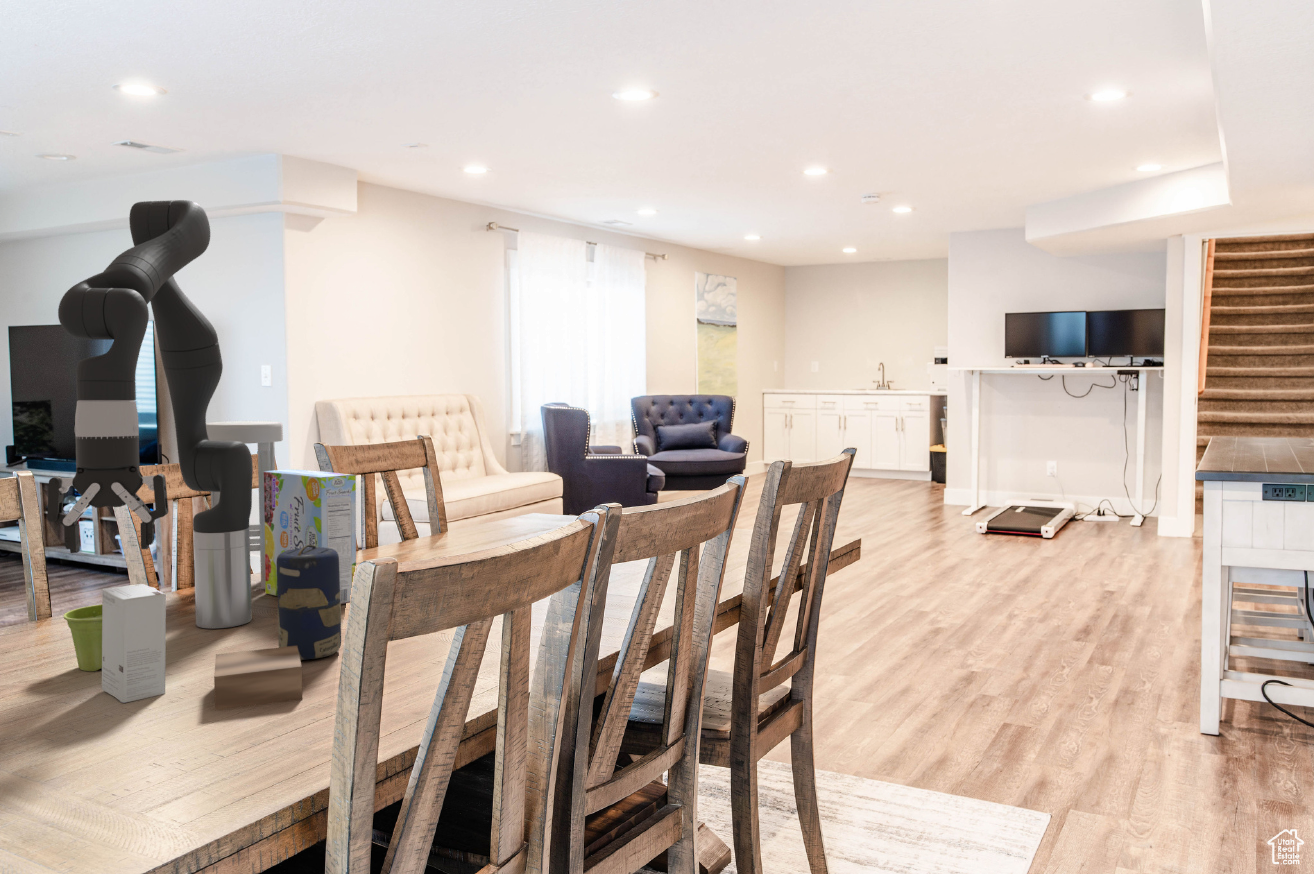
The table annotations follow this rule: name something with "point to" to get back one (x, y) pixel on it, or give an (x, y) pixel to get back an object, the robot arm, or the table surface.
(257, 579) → the table surface
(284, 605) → the canister
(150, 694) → the skincare box
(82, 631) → the plant pot
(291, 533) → the snack box
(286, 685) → the walnut block
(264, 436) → the stool
